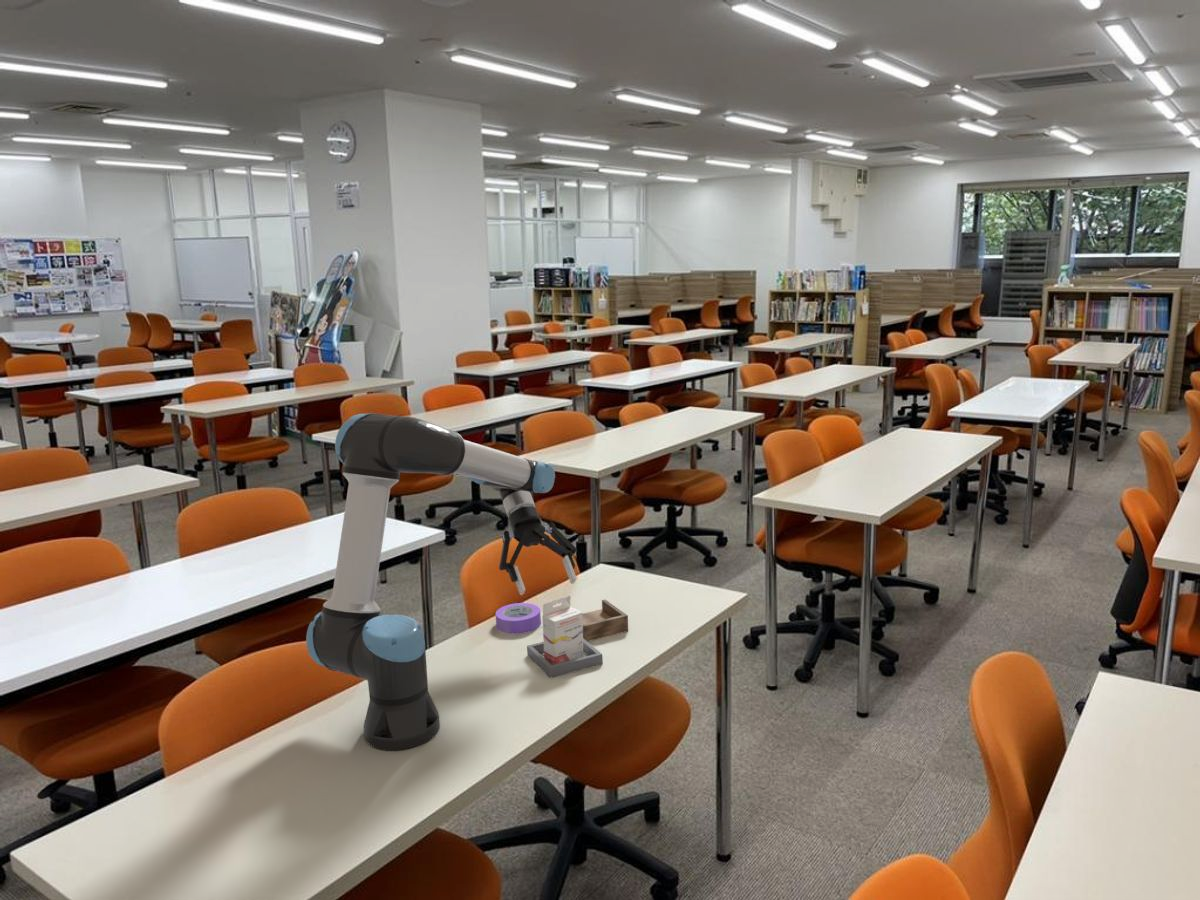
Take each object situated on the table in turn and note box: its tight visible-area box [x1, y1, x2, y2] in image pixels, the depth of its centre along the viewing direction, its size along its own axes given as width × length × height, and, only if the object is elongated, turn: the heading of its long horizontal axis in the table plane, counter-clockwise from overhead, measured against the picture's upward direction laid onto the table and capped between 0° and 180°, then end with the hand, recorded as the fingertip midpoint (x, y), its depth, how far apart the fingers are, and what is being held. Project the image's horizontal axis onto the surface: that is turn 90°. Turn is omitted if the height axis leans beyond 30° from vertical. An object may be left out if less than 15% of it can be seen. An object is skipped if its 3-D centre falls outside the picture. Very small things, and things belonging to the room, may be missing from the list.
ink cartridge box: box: [542, 595, 585, 665], centre depth 204 cm, size 9×5×15 cm, turn 130°
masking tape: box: [495, 602, 542, 635], centre depth 226 cm, size 12×12×4 cm
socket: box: [526, 638, 604, 679], centre depth 205 cm, size 14×14×2 cm
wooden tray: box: [582, 599, 629, 642], centre depth 223 cm, size 14×14×4 cm
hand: (548, 586), depth 210 cm, fingers open, 13 cm apart
